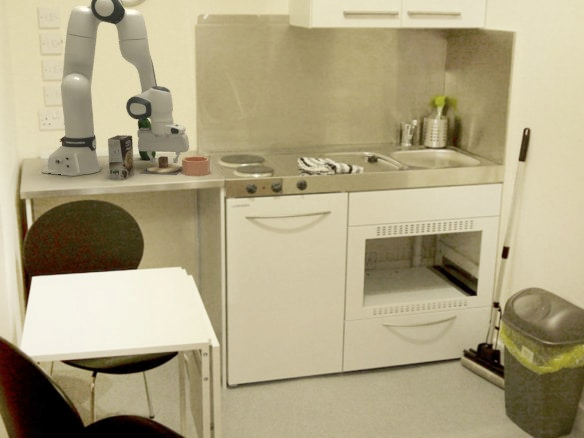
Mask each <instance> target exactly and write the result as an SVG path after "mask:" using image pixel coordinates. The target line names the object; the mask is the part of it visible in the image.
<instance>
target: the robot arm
mask: <svg viewBox="0 0 584 438" xmlns="http://www.w3.org/2000/svg"><path fill="white" fill-rule="evenodd" d="M123 4H124V3H123V1H122V0H91V2H90V5H77V6H75V7H73V8H72V9H71V11H70V15H69V18H68V22H67V28H66V35H65V36H66V37H65V46H64V58H63V67H62V68H63V69H62V80H61V84H60V93H61V95H60V96H61V102H62V103H61V105H62V113H63V121H64V122H63V124H64V136H62V137H61V138H59V143H61V145H60V146H58V148H56V149H55V150H54V151H53V152H52V153H51V154H50V155H49V156H48V159H47V166H45V167H44V168H42V169H41V170H42V171H41V172H43V174H48V173H51V174H50V175H58V174H61V176H69V177H70V176H71V177H76V176H81V175H90V174H95V173H98V172H101V170H102V168H101V167H100V163H99V160H98V156H97V155H98V154H97V139H96V135H95V130H94V129H95V126H94V112H93V101H92V99H93V98H92V81H93V71H94V63H95V55H96V54H95V53H96V47H97V45H96V44H97V37H98V28H99V25H100V24H101V23H102V22H104V23H109V24H113V25H114V26H115V28H116V29H117V36H118V37H117V38H118V45H119V51H120V54H121V57H123V59H124V60H125V61H126V62H127V63H129V64H131V65H133V66H134V67H135V69H136V70H137V73H138V78H139V82H140V83H139V84H140V86H141V87H140V88H141V92H140V93H138V94H136V95H133V96H131V97H130V98H129V99H127V101H126V104H125V105H126V107H125V109H126V112H127V114H128V116H129V117H131V119H133V120H137V121H138V120H141V119H145V118H147V119H149V121H150V123H151V128H141V129H138V130H137V132H136V134H137V138H138V139H137V149H138V152H139V151H147V155H148V156H149V158H150V160H149V161H150V163H156V156H155V157H153V156H152V155H151V153H152V151H153V152H160V153H161V152H162V153H163V152H164V153H175V155H176V156H175V157H174V158H173V160H172V161H173V163H172V164H178V163H179V157H180V155H181V153H187V152H188V151H189V150H190V144H189V143H190V142H189V137H188V135H187V133H186V130H187V128H186V126H184V125H181V124H178V123H177V122H176V123H175V122H174V117H173V112H174V109H173V107H174V106H173V105H174V104H173V97H172V93H171V90H170V89H168V88H167V87H165V86H161V85H160V86H159V85H158V84H157V78H156V73H155V72H156V71H155V66H154V62H153V60H152V56H151V52H150V46H149V39H148V31H147V27H146V22H145V18H144V16H143V14H142V13H141V11H139V10H137V9H134V8H125V7H124V5H123ZM145 130H146V131H145Z"/></svg>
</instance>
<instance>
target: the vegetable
mask: <svg viewBox="0 0 584 438" xmlns="http://www.w3.org/2000/svg"><path fill="white" fill-rule="evenodd" d="M137 127H138V130H139V129H141V128H151V120H150V119H149V118H145V119H141V120H138V119H137ZM145 131H146V130H145ZM138 153H139V156H140V158H141V160H144V161H150V158H149V156H148V155H147V151H139V150H138ZM156 154H157V153H156V152H153V151H152V153H151V155H152V156H153V157H155V158H156Z"/></svg>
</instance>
